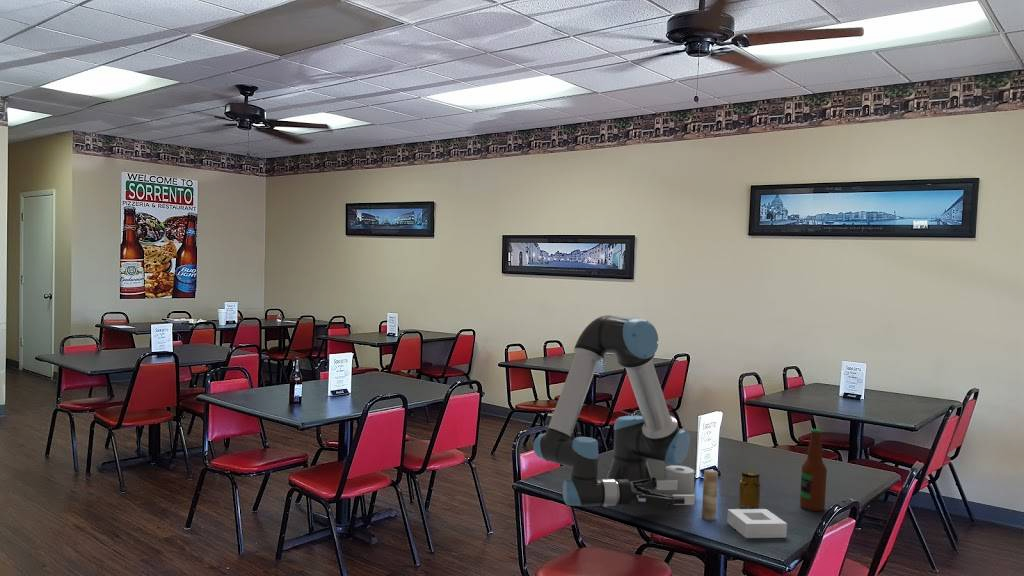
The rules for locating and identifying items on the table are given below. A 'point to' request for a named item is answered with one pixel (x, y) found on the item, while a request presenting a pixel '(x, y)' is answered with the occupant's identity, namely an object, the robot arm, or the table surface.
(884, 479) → the table surface
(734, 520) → the socket
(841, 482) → the table surface
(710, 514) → the dowel
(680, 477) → the toilet tissue
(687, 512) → the table surface
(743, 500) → the condiment
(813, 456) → the bottle
